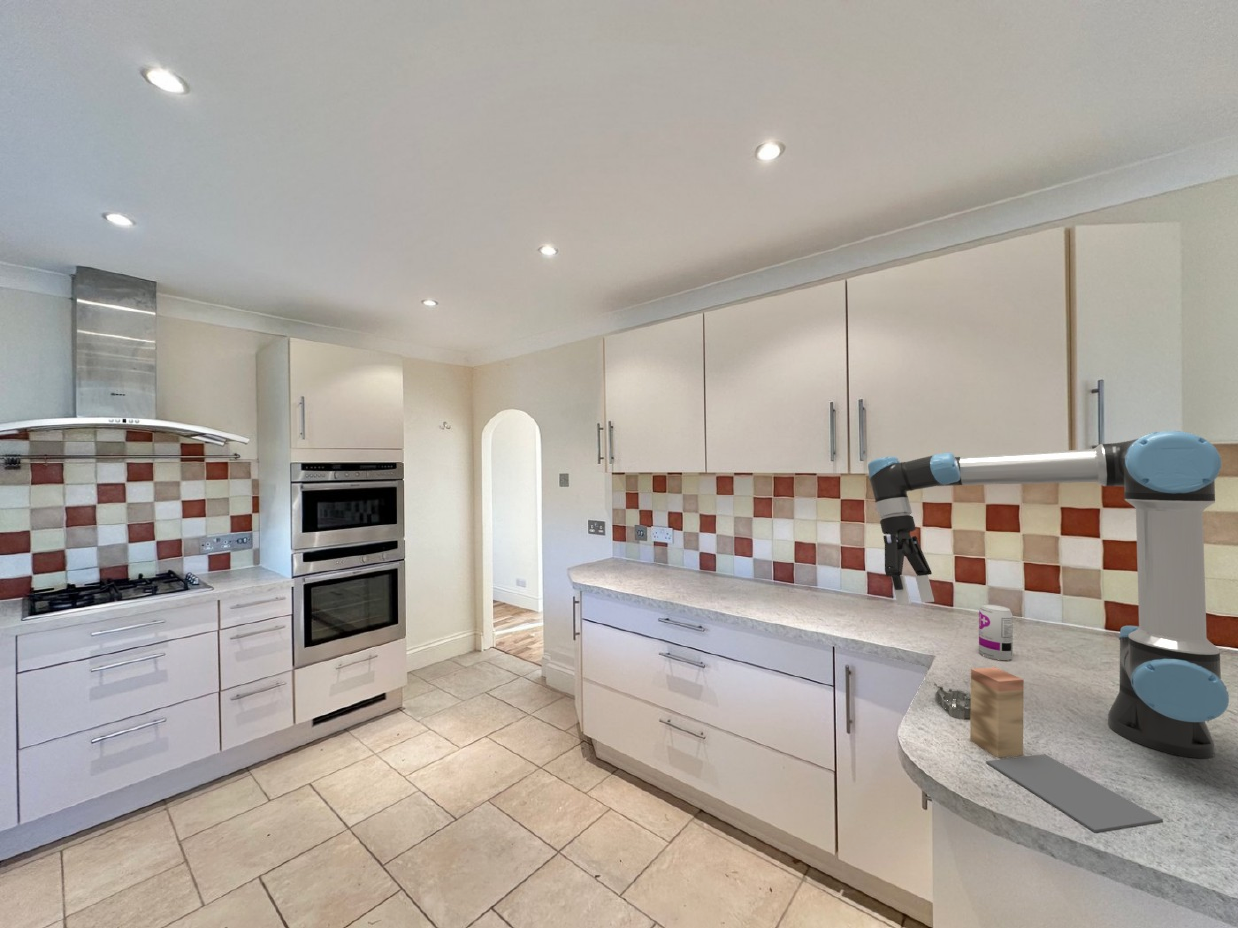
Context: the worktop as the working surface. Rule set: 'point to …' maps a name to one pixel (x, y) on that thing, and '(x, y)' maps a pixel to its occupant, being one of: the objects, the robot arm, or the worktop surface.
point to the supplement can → (995, 632)
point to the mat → (1074, 793)
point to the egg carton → (962, 702)
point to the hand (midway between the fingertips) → (916, 603)
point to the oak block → (997, 712)
